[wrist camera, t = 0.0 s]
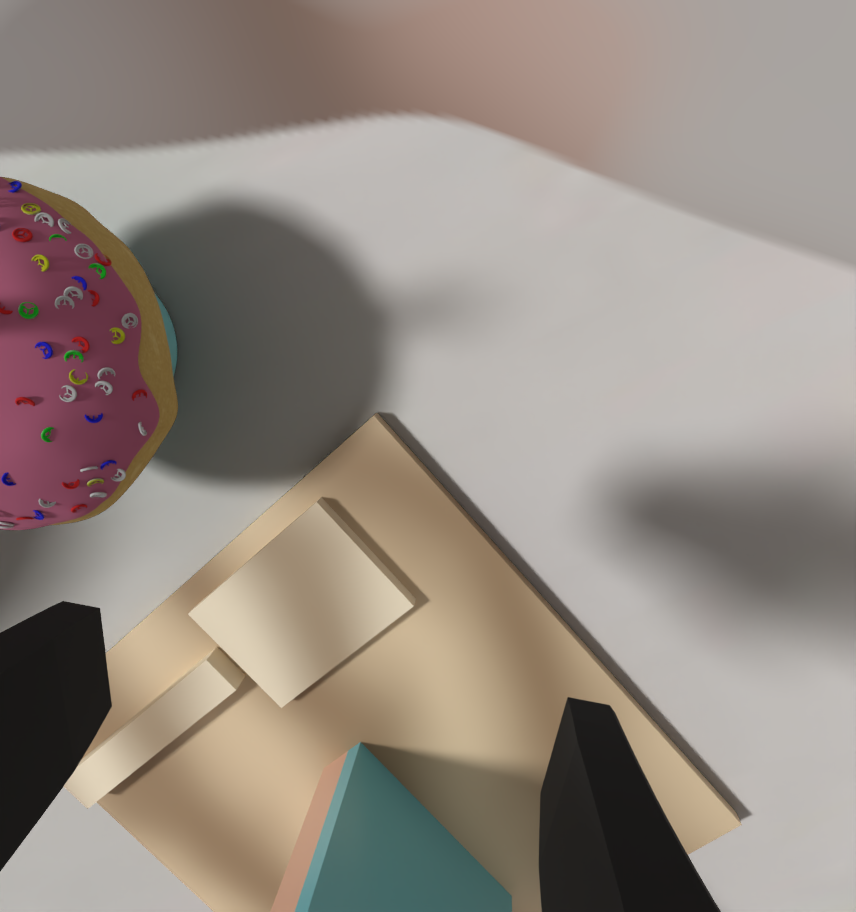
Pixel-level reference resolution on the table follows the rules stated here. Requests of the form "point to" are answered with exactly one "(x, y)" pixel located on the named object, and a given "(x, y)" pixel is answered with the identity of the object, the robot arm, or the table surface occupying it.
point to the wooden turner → (263, 637)
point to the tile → (379, 851)
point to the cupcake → (75, 362)
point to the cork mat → (380, 700)
